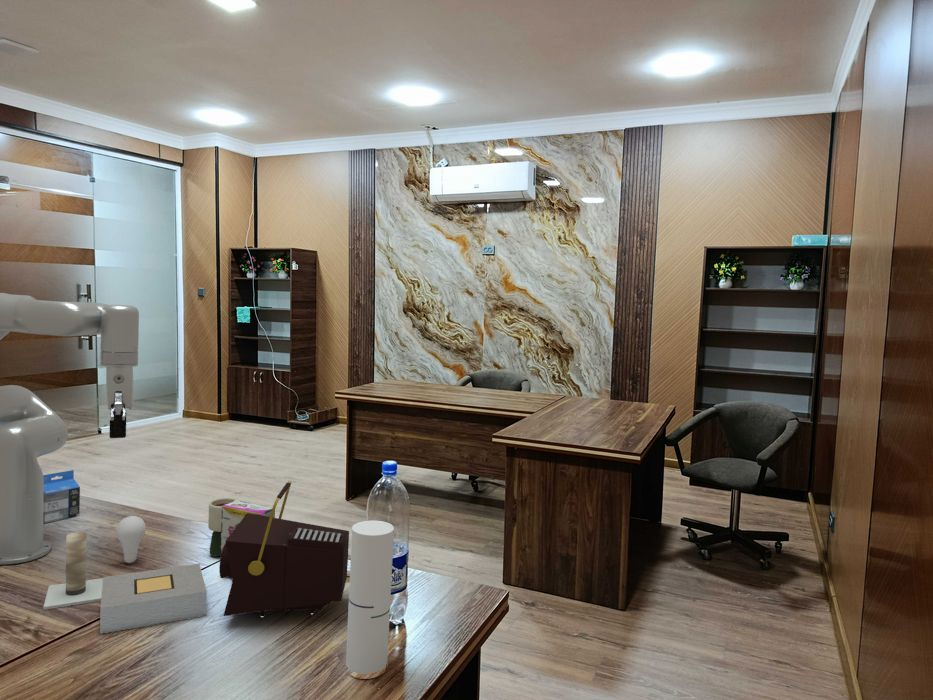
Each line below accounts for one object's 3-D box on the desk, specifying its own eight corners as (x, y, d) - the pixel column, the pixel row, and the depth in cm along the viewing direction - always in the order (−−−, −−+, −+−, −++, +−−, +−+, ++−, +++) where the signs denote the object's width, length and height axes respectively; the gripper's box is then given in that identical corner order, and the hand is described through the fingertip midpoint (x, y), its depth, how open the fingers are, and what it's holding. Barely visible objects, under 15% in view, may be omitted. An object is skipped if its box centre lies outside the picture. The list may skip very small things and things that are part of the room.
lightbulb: (150, 558, 146) (151, 513, 146) (134, 569, 140) (135, 522, 140) (126, 556, 147) (127, 511, 146) (109, 567, 141) (110, 519, 140)
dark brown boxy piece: (239, 589, 134) (242, 476, 132) (347, 590, 136) (352, 479, 134) (215, 629, 117) (219, 500, 116) (339, 629, 119) (344, 503, 118)
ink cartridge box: (44, 524, 164) (44, 478, 163) (37, 520, 166) (37, 475, 165) (80, 516, 171) (80, 472, 170) (73, 512, 173) (73, 469, 172)
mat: (43, 610, 121) (43, 607, 121) (49, 588, 129) (49, 585, 129) (102, 600, 125) (102, 598, 125) (104, 580, 134) (104, 577, 134)
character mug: (248, 556, 151) (250, 504, 150) (221, 564, 145) (222, 510, 144) (224, 543, 158) (226, 493, 157) (197, 551, 152) (199, 499, 151)
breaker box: (100, 634, 113) (100, 608, 113) (102, 600, 125) (103, 577, 125) (205, 615, 122) (206, 591, 122) (198, 586, 134) (199, 563, 134)
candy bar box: (218, 576, 139) (220, 505, 138) (233, 568, 144) (235, 499, 143) (259, 586, 136) (262, 513, 135) (273, 577, 140) (276, 506, 139)
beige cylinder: (64, 596, 125) (65, 539, 124) (66, 589, 128) (67, 533, 127) (85, 593, 127) (85, 536, 126) (86, 586, 130) (86, 530, 129)
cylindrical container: (347, 655, 111) (354, 520, 109) (387, 656, 112) (394, 521, 110) (343, 679, 104) (349, 534, 102) (386, 679, 104) (393, 535, 103)
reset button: (137, 608, 119) (137, 593, 119) (136, 594, 125) (136, 580, 125) (171, 602, 122) (171, 588, 122) (169, 589, 128) (169, 575, 127)
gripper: (138, 363, 135) (137, 440, 136) (137, 355, 150) (136, 425, 151) (98, 363, 131) (97, 442, 132) (101, 355, 146) (100, 426, 148)
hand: (118, 433), depth 142 cm, fingers open, 9 cm apart
